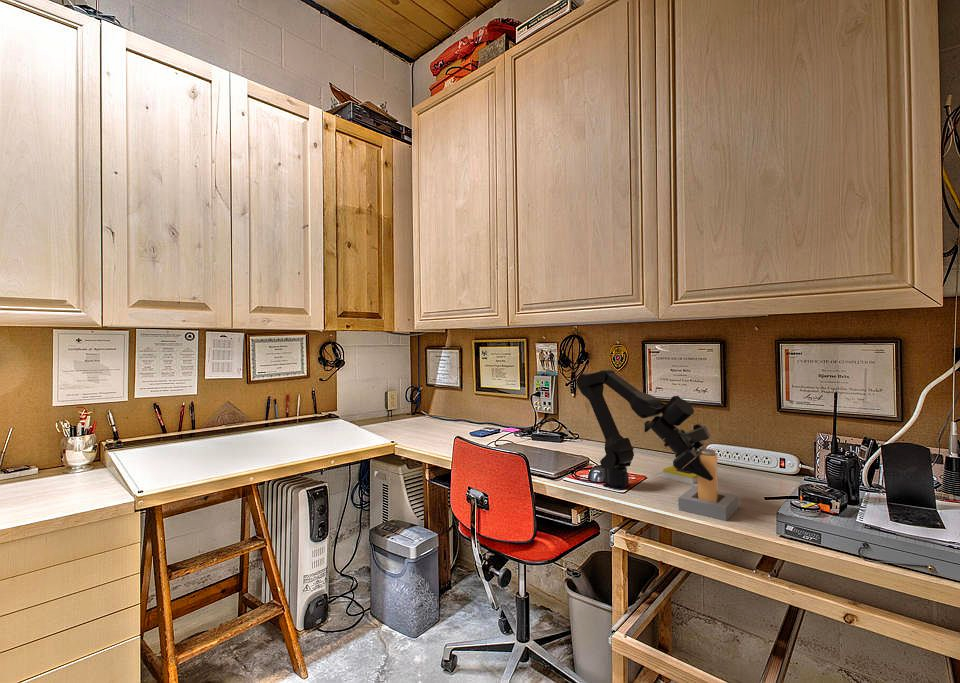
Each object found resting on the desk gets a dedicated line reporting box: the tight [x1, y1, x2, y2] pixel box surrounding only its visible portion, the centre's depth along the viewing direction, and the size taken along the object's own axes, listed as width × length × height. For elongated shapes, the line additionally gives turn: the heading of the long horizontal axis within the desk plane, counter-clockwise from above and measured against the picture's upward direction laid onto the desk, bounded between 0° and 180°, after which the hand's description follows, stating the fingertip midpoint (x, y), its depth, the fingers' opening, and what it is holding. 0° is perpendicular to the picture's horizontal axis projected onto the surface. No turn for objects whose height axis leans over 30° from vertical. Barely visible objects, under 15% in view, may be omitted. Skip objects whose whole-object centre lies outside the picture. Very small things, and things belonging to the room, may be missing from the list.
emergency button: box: [657, 465, 698, 486], centre depth 154 cm, size 9×4×15 cm
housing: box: [677, 486, 739, 522], centre depth 126 cm, size 12×12×4 cm
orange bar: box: [697, 448, 719, 502], centre depth 126 cm, size 4×4×14 cm
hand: (713, 477), depth 125 cm, fingers closed on orange bar, 4 cm apart
